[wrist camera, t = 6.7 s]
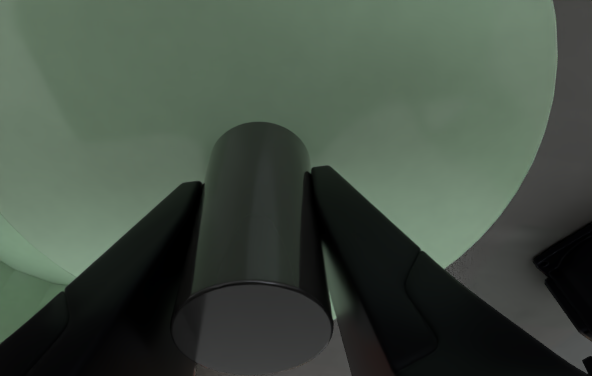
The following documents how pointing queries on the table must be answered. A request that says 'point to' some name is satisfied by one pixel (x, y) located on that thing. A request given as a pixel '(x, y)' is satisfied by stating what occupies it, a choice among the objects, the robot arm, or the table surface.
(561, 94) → the table surface
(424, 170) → the pot lid
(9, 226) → the pot
